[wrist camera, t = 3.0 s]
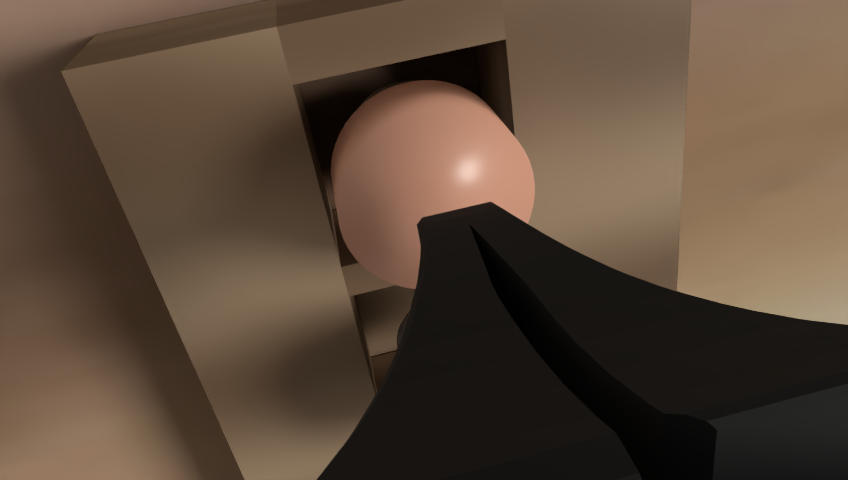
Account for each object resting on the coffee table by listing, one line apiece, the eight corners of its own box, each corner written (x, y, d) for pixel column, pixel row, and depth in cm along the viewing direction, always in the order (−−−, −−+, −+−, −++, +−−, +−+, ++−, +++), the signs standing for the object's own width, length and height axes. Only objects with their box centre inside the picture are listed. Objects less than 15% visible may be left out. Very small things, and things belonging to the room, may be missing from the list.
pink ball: (493, 188, 18) (541, 264, 15) (345, 223, 18) (360, 308, 14) (475, 38, 16) (527, 88, 13) (306, 74, 15) (315, 134, 12)
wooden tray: (628, 431, 26) (666, 495, 23) (295, 520, 25) (297, 597, 22) (630, -74, 17) (694, -60, 14) (95, 34, 16) (61, 70, 13)
